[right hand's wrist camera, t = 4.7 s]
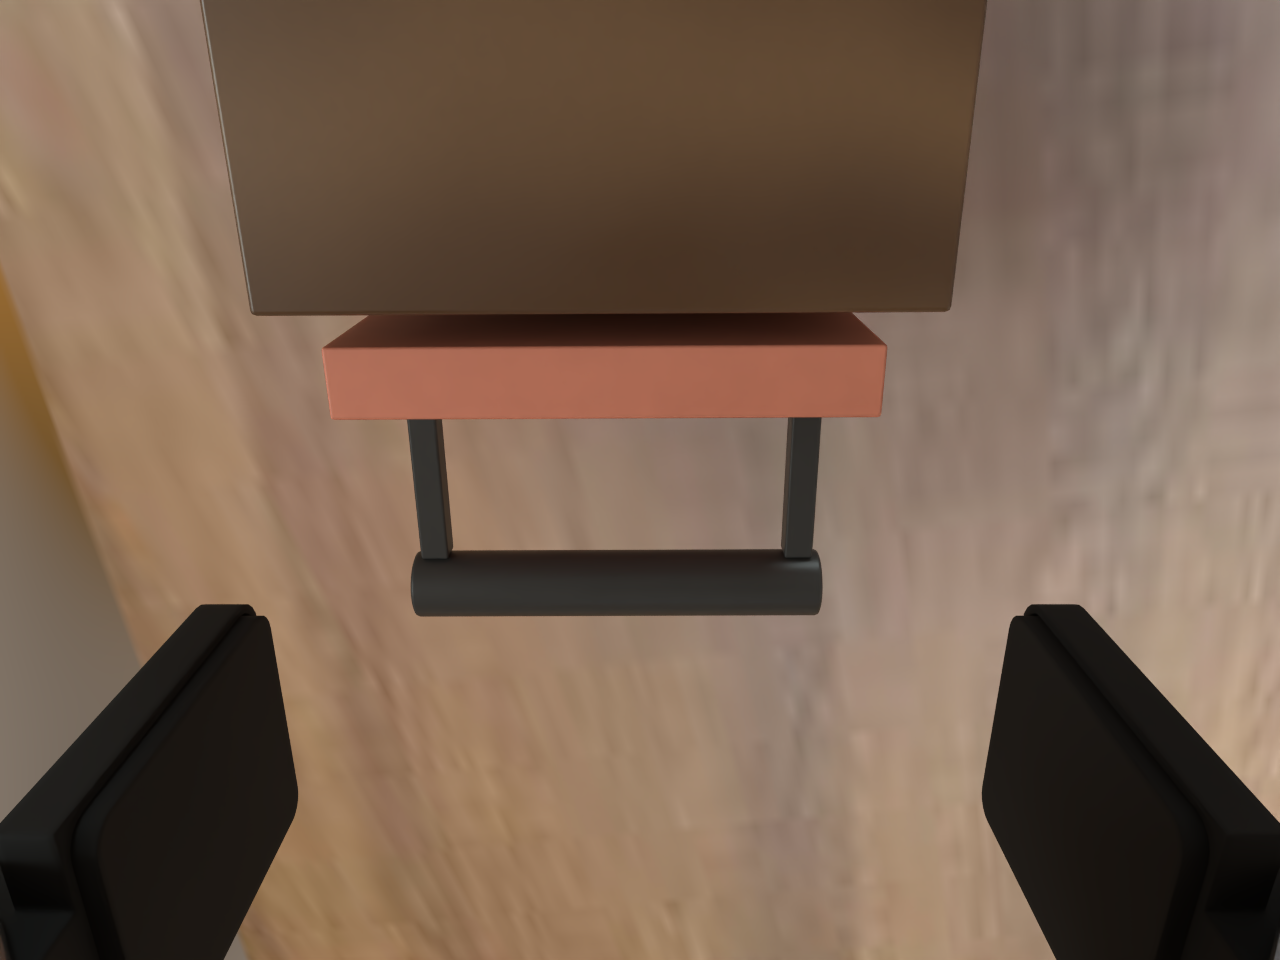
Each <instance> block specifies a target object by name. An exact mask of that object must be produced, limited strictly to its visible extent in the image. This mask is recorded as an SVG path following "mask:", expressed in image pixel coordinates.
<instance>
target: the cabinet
mask: <svg viewBox="0 0 1280 960" xmlns="http://www.w3.org/2000/svg"><path fill="white" fill-rule="evenodd" d="M200 4H201V10H202V16H203V23H204V29H205V35H206V41H207V47H208V53H209V59H210V65H211V72H212V78H213V84H214V90H215V96H216V102H217V108H218V115H219V121H220V127H221V133H222V139H223V145H224V151H225V158H226V164H227V170H228V176H229V182H230V188H231V194H232V200H233V207H234V213H235V219H236V225H237V231H238V237H239V243H240V250H241V256H242V262H243V268H244V274H245V280H246V286H247V293H248V299H249V305H250V311H251V313H252V314H254V315H256V316H312V315H485V314H658V313H831V312H945V311H948V310H950V307H951V303H952V295H953V286H954V278H955V269H956V261H957V252H958V244H959V235H960V227H961V218H962V210H963V201H964V193H965V185H966V176H967V168H968V159H969V151H970V142H971V134H972V125H973V117H974V108H975V100H976V91H977V83H978V74H979V66H980V57H981V49H982V40H983V32H984V23H985V15H986V6H987V0H200Z"/></svg>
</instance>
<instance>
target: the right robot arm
mask: <svg viewBox="0 0 1280 960" xmlns="http://www.w3.org/2000/svg"><path fill="white" fill-rule="evenodd" d="M297 802H298V786H297V780H296V774H295V768H294V762H293V756H292V751H291V745H290V739H289V733H288V727H287V721H286V715H285V709H284V703H283V698H282V692H281V686H280V680H279V674H278V668H277V662H276V656H275V650H274V645H273V639H272V633H271V627H270V624H269V621H268V619H267V618H266V617H265V616H256V613H255V611H254V609H253V608H252V607H251V606H250V605H248V604H206V605H200V606H199V607H198V608H196V609H195V610H194V611H193V612H192V614H191V615H190V616H189V617H188V618H187V619H186V620H185V621H184V622H183V623H182V625H181V626H180V627H179V628H178V629H177V630H176V631H175V632H174V633H173V634H172V635H171V637H170V638H169V639H168V640H167V641H166V642H165V643H164V644H163V645H162V646H161V648H160V649H159V650H158V651H157V652H156V653H155V654H154V655H153V656H152V657H151V658H150V660H149V661H148V662H147V663H146V664H145V665H144V666H143V667H142V668H141V669H140V671H139V672H138V673H137V674H136V675H135V676H134V677H133V678H132V679H131V680H130V682H129V683H128V684H127V685H126V686H125V687H124V688H123V689H122V690H121V691H120V693H119V694H118V695H117V696H116V697H115V698H114V699H113V700H112V701H111V702H110V703H109V705H108V706H107V707H106V708H105V709H104V710H103V711H102V712H101V713H100V714H99V716H98V717H97V718H96V719H95V720H94V721H93V722H92V723H91V724H90V725H89V726H88V728H87V729H86V730H85V731H84V732H83V733H82V734H81V735H80V736H79V737H78V739H77V740H76V741H75V742H74V743H73V744H72V745H71V746H70V747H69V748H68V749H67V751H66V752H65V753H64V754H63V755H62V756H61V757H60V758H59V759H58V760H57V761H56V763H55V764H54V765H53V766H52V767H51V768H50V769H49V770H48V771H47V773H46V774H45V775H44V776H43V777H42V778H41V779H40V780H39V781H38V782H37V783H36V785H35V786H34V787H33V788H32V789H31V790H30V791H29V792H28V793H27V794H26V796H25V797H24V798H23V799H22V800H21V801H20V802H19V803H18V804H17V805H16V806H15V808H14V809H13V810H12V811H11V812H10V813H9V814H8V815H7V816H6V817H5V819H4V820H3V821H2V822H1V823H0V960H224V958H225V956H226V954H227V952H228V950H229V948H230V946H231V944H232V942H233V940H234V937H235V936H236V934H237V932H238V930H239V928H240V926H241V924H242V922H243V920H244V918H245V916H246V914H247V912H248V910H249V907H250V905H251V903H252V901H253V899H254V897H255V895H256V893H257V891H258V889H259V887H260V885H261V883H262V881H263V879H264V877H265V875H266V873H267V871H268V869H269V867H270V865H271V863H272V861H273V859H274V857H275V855H276V853H277V851H278V849H279V847H280V845H281V843H282V841H283V839H284V837H285V835H286V833H287V831H288V829H289V827H290V825H291V823H292V821H293V818H294V816H295V813H296V809H297ZM982 802H983V809H984V813H985V816H986V819H987V821H988V823H989V825H990V827H991V829H992V831H993V833H994V835H995V837H996V839H997V841H998V843H999V845H1000V847H1001V849H1002V851H1003V853H1004V855H1005V857H1006V859H1007V861H1008V863H1009V865H1010V867H1011V869H1012V871H1013V873H1014V875H1015V877H1016V879H1017V881H1018V883H1019V885H1020V887H1021V889H1022V891H1023V893H1024V895H1025V897H1026V899H1027V901H1028V903H1029V905H1030V907H1031V910H1032V912H1033V914H1034V916H1035V918H1036V920H1037V922H1038V924H1039V926H1040V928H1041V930H1042V932H1043V934H1044V936H1045V938H1046V940H1047V942H1048V944H1049V946H1050V948H1051V950H1052V952H1053V954H1054V956H1055V958H1056V960H1280V823H1279V822H1278V821H1277V820H1276V818H1275V817H1274V816H1273V815H1272V814H1271V813H1270V812H1269V811H1268V810H1267V809H1266V808H1265V806H1264V805H1263V804H1262V803H1261V802H1260V801H1259V800H1258V799H1257V798H1256V797H1255V795H1254V794H1253V793H1252V792H1251V791H1250V790H1249V789H1248V788H1247V787H1246V786H1245V785H1244V783H1243V782H1242V781H1241V780H1240V779H1239V778H1238V777H1237V776H1236V775H1235V774H1234V772H1233V771H1232V770H1231V769H1230V768H1229V767H1228V766H1227V765H1226V764H1225V763H1224V761H1223V760H1222V759H1221V758H1220V757H1219V756H1218V755H1217V754H1216V753H1215V752H1214V751H1213V749H1212V748H1211V747H1210V746H1209V745H1208V744H1207V743H1206V742H1205V741H1204V740H1203V738H1202V737H1201V736H1200V735H1199V734H1198V733H1197V732H1196V731H1195V730H1194V729H1193V728H1192V726H1191V725H1190V724H1189V723H1188V722H1187V721H1186V720H1185V719H1184V718H1183V717H1182V715H1181V714H1180V713H1179V712H1178V711H1177V710H1176V709H1175V708H1174V707H1173V706H1172V705H1171V703H1170V702H1169V701H1168V700H1167V699H1166V698H1165V697H1164V696H1163V695H1162V694H1161V692H1160V691H1159V690H1158V689H1157V688H1156V687H1155V686H1154V685H1153V684H1152V683H1151V681H1150V680H1149V679H1148V678H1147V677H1146V676H1145V675H1144V674H1143V673H1142V672H1141V671H1140V669H1139V668H1138V667H1137V666H1136V665H1135V664H1134V663H1133V662H1132V661H1131V660H1130V658H1129V657H1128V656H1127V655H1126V654H1125V653H1124V652H1123V651H1122V650H1121V649H1120V648H1119V646H1118V645H1117V644H1116V643H1115V642H1114V641H1113V640H1112V639H1111V638H1110V637H1109V635H1108V634H1107V633H1106V632H1105V631H1104V630H1103V629H1102V628H1101V627H1100V626H1099V625H1098V623H1097V622H1096V621H1095V620H1094V619H1093V618H1092V617H1091V616H1090V615H1089V614H1088V612H1087V611H1086V610H1085V609H1084V608H1082V607H1081V606H1080V605H1074V604H1032V605H1030V606H1029V607H1028V608H1027V609H1026V611H1025V613H1024V616H1015V617H1014V618H1013V619H1012V621H1011V624H1010V627H1009V633H1008V639H1007V645H1006V650H1005V656H1004V662H1003V668H1002V674H1001V680H1000V686H999V692H998V698H997V703H996V709H995V715H994V721H993V727H992V733H991V739H990V745H989V751H988V756H987V762H986V768H985V774H984V780H983V786H982Z"/></svg>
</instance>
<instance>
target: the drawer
mask: <svg viewBox="0 0 1280 960" xmlns="http://www.w3.org/2000/svg"><path fill="white" fill-rule="evenodd" d="M322 356H323V364H324V371H325V378H326V386H327V393H328V400H329V408H330V415H331V418H332V419H334V420H371V419H407V423H408V433H409V442H410V452H411V461H412V471H413V480H414V490H415V499H416V509H417V519H418V528H419V538H420V547H421V551H420V552H418V553H417V555H416V557H415V559H414V563H413V567H412V574H411V599H412V604H413V608H414V611H415V613H416V614H417V615H418V616H698V615H816V614H818V613H819V610H820V607H821V602H822V569H821V562H820V558H819V555H818V553H817V551H816V550H814V549H812V547H813V533H814V518H815V504H816V489H817V475H818V460H819V446H820V431H821V417H879V416H880V415H881V410H882V399H883V388H884V378H885V367H886V356H887V345H886V344H885V343H884V342H883V341H882V340H881V339H880V338H878V337H877V336H876V335H875V334H874V333H873V332H872V331H871V330H870V329H869V328H868V327H867V326H865V325H864V324H863V323H862V322H861V321H860V320H859V319H858V318H857V317H856V316H855V315H853V314H852V313H851V312H831V313H658V314H485V315H369V316H367V317H366V318H365V319H363V320H362V321H360V322H359V323H357V324H356V325H355V326H353V327H352V328H350V329H349V330H347V331H346V332H345V333H343V334H342V335H340V336H339V337H337V338H336V339H335V340H333V341H332V342H330V343H329V344H328V345H326V346H325V347H323V348H322ZM773 417H788V429H787V448H786V466H785V484H784V502H783V520H782V539H781V547H782V549H740V550H488V551H452V549H453V538H452V527H451V516H450V505H449V494H448V483H447V472H446V461H445V450H444V439H443V427H442V419H572V418H773Z"/></svg>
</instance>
